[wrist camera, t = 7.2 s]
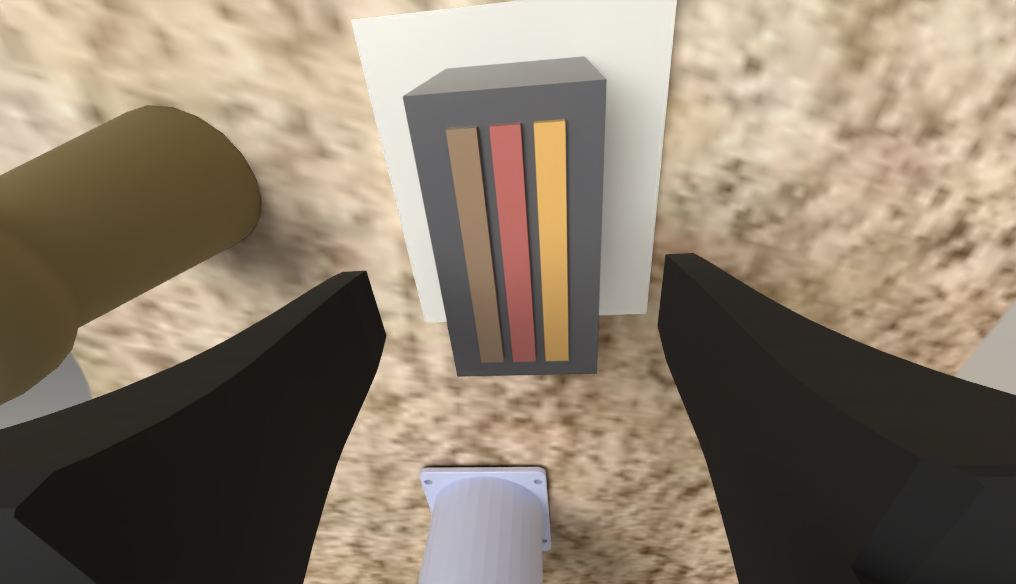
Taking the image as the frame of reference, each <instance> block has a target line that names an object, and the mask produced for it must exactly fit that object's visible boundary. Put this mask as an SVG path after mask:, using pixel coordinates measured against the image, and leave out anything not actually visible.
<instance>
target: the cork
mask: <svg viewBox="0 0 1016 584" xmlns="http://www.w3.org/2000/svg"><path fill="white" fill-rule="evenodd" d="M260 203H261V197H260V194H259V190H258V186H257V183H256V179H255V176H254V174H253V173H252V171H251V169H250V167H249V166H248V164H247V162H246V161H245V159H244V157H243V156H242V154H241V153H240V152H239V151H238V150H237V149H236V148H235V147H234V145H233V144H232V143H231V142H230V141H229V140H228V139H227V138H226V137H225V136H224V135H223V134H222V133H221V132H219V131H218V130H216V129H215V128H213V127H212V126H210V125H209V124H208V123H206V122H205V121H203V120H202V119H200V118H199V117H197V116H194V115H191V114H189V113H186V112H183V111H181V110H178V109H175V108H173V107H162V106H148V105H147V106H144V107H141V108H138V109H135V110H132V111H129V112H126V113H124V114H122V115H120V116H118V117H116V118H114V119H112V120H110V121H108V122H106V123H104V124H102V125H100V126H98V127H96V128H94V129H92V130H90V131H88V132H86V133H84V134H82V135H80V136H78V137H76V138H74V139H72V140H70V141H68V142H66V143H64V144H62V145H60V146H58V147H56V148H54V149H52V150H50V151H48V152H46V153H44V154H42V155H40V156H38V157H36V158H34V159H32V160H30V161H28V162H26V163H24V164H22V165H20V166H18V167H16V168H14V169H12V170H10V171H8V172H6V173H4V174H2V175H0V405H1V404H3V403H5V402H7V401H9V400H12V399H14V398H16V397H17V396H20V395H22V394H24V393H25V392H26V391H28V390H29V389H30V388H32V387H33V386H34V385H36V384H37V383H38V382H40V381H41V380H42V379H43V378H45V377H46V376H47V375H48V374H50V373H51V372H52V371H54V370H55V369H56V368H57V367H59V365H60V364H61V363H62V361H63V360H64V359H65V358H66V356H67V355H68V354H69V352H70V351H71V350H72V348H73V345H74V341H75V338H76V335H77V331H78V328H79V327H81V326H83V325H85V324H87V323H88V322H90V321H92V320H94V319H96V318H98V317H100V316H102V315H103V314H105V313H107V312H109V311H111V310H113V309H115V308H117V307H118V306H120V305H122V304H124V303H126V302H128V301H130V300H132V299H133V298H135V297H137V296H139V295H141V294H143V293H145V292H147V291H148V290H150V289H152V288H154V287H156V286H158V285H160V284H162V283H164V282H165V281H167V280H169V279H171V278H173V277H175V276H177V275H179V274H180V273H182V272H184V271H186V270H188V269H190V268H192V267H194V266H195V265H197V264H199V263H201V262H203V261H205V260H207V259H209V258H210V257H212V256H214V255H216V254H218V253H220V252H222V251H224V250H225V249H227V248H229V247H231V246H233V245H235V244H237V243H238V242H240V241H241V240H243V239H244V238H245V237H247V236H248V235H249V234H251V233H252V231H253V229H254V227H255V225H256V223H257V222H258V220H259V218H260Z"/></svg>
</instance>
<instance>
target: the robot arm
mask: <svg viewBox="0 0 1016 584" xmlns="http://www.w3.org/2000/svg"><path fill="white" fill-rule="evenodd" d="M658 329H659V333H660V338H661V342H662V346H663V350H664V354H665V357H666V361H667V364H668V366H669V369H670V371H671V374H672V376H673V379H674V381H675V384H676V386H677V389H678V391H679V394H680V396H681V399H682V401H683V403H684V406H685V408H686V411H687V413H688V416H689V418H690V420H691V423H692V425H693V428H694V430H695V433H696V435H697V438H698V440H699V443H700V445H701V448H702V451H703V454H704V457H705V459H706V462H707V466H708V469H709V473H710V476H711V480H712V483H713V487H714V490H715V494H716V497H717V501H718V504H719V508H720V512H721V515H722V519H723V523H724V527H725V530H726V534H727V538H728V542H729V545H730V549H731V553H732V557H733V561H734V565H735V569H736V574H737V578H738V582H739V584H1016V395H1013V394H1010V393H1006V392H1003V391H1000V390H996V389H993V388H989V387H986V386H982V385H979V384H976V383H973V382H969V381H966V380H963V379H960V378H957V377H954V376H951V375H948V374H944V373H941V372H938V371H935V370H932V369H929V368H926V367H924V366H921V365H918V364H915V363H913V362H910V361H907V360H904V359H902V358H899V357H896V356H893V355H891V354H888V353H885V352H883V351H880V350H878V349H875V348H872V347H870V346H867V345H865V344H862V343H860V342H858V341H855V340H853V339H851V338H849V337H846V336H844V335H842V334H840V333H837V332H835V331H833V330H830V329H828V328H826V327H824V326H822V325H820V324H817V323H815V322H813V321H811V320H809V319H807V318H805V317H803V316H801V315H799V314H798V313H796V312H794V311H792V310H790V309H788V308H786V307H784V306H782V305H780V304H779V303H777V302H775V301H773V300H771V299H770V298H768V297H766V296H764V295H763V294H761V293H759V292H758V291H756V290H754V289H752V288H751V287H749V286H747V285H746V284H744V283H743V282H741V281H739V280H738V279H736V278H734V277H733V276H731V275H730V274H728V273H726V272H725V271H723V270H722V269H720V268H718V267H717V266H715V265H713V264H712V263H710V262H709V261H707V260H705V259H703V258H702V257H700V256H698V255H696V254H694V253H686V254H668V255H666V256H665V265H664V274H663V283H662V291H661V300H660V309H659V318H658ZM385 339H386V333H385V330H384V326H383V323H382V320H381V317H380V314H379V310H378V307H377V304H376V301H375V297H374V294H373V291H372V288H371V284H370V281H369V278H368V275H367V272H366V271H352V272H342V273H340V274H337V275H335V276H333V277H331V278H330V279H328V280H326V281H324V282H323V283H321V284H319V285H318V286H316V287H314V288H313V289H311V290H309V291H308V292H306V293H305V294H303V295H301V296H300V297H298V298H297V299H295V300H293V301H292V302H290V303H289V304H287V305H285V306H284V307H282V308H281V309H279V310H277V311H276V312H274V313H273V314H271V315H269V316H268V317H266V318H264V319H262V320H261V321H259V322H257V323H255V324H254V325H252V326H250V327H249V328H247V329H245V330H243V331H242V332H240V333H238V334H237V335H235V336H233V337H231V338H229V339H228V340H226V341H224V342H222V343H220V344H218V345H216V346H214V347H212V348H211V349H209V350H207V351H204V352H202V353H200V354H198V355H196V356H194V357H192V358H190V359H188V360H186V361H184V362H182V363H180V364H177V365H175V366H173V367H171V368H168V369H166V370H164V371H161V372H159V373H157V374H154V375H152V376H149V377H147V378H145V379H142V380H140V381H138V382H135V383H133V384H130V385H128V386H126V387H123V388H121V389H118V390H116V391H113V392H111V393H108V394H105V395H102V396H100V397H97V398H94V399H92V400H89V401H86V402H84V403H81V404H78V405H75V406H72V407H69V408H66V409H64V410H60V411H58V412H55V413H52V414H49V415H46V416H43V417H40V418H36V419H33V420H30V421H27V422H24V423H21V424H17V425H14V426H11V427H7V428H4V429H1V430H0V584H303V582H304V578H305V574H306V570H307V566H308V562H309V558H310V554H311V550H312V546H313V543H314V539H315V536H316V532H317V529H318V525H319V522H320V518H321V515H322V511H323V508H324V504H325V501H326V498H327V494H328V491H329V488H330V485H331V482H332V479H333V476H334V472H335V469H336V466H337V463H338V461H339V458H340V455H341V453H342V450H343V448H344V445H345V443H346V441H347V438H348V436H349V434H350V432H351V429H352V427H353V425H354V423H355V420H356V418H357V416H358V414H359V411H360V409H361V407H362V405H363V402H364V400H365V398H366V395H367V393H368V391H369V388H370V386H371V384H372V381H373V379H374V377H375V374H376V372H377V369H378V366H379V362H380V359H381V356H382V352H383V348H384V344H385ZM419 477H420V480H421V483H422V486H423V489H424V492H425V495H426V498H427V501H428V504H429V507H430V510H431V513H432V517H431V522H430V527H429V532H428V537H427V542H426V546H425V551H424V556H423V561H422V566H421V571H420V575H419V580H418V584H543V551H549V550H550V549H551V533H550V520H549V507H548V494H547V481H546V471H545V470H544V469H543V468H541V467H446V468H423V469H421V471H420V475H419Z"/></svg>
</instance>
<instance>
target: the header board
mask: <svg viewBox="0 0 1016 584" xmlns="http://www.w3.org/2000/svg"><path fill="white" fill-rule="evenodd" d="M676 4H677V0H521V1H512V2H503V3H494V4H485V5H476V6H467V7H459V8H450V9H441V10H432V11H423V12H414V13H405V14H397V15H388V16H379V17H370V18H361V19H352V20H351V22H352V27H353V31H354V35H355V39H356V43H357V47H358V51H359V55H360V59H361V63H362V67H363V71H364V75H365V79H366V83H367V87H368V92H369V96H370V100H371V104H372V108H373V112H374V116H375V120H376V124H377V128H378V132H379V136H380V140H381V144H382V148H383V152H384V156H385V161H386V165H387V169H388V173H389V177H390V181H391V185H392V189H393V193H394V197H395V201H396V205H397V209H398V213H399V217H400V221H401V226H402V230H403V234H404V238H405V242H406V246H407V250H408V254H409V258H410V262H411V266H412V270H413V274H414V278H415V282H416V286H417V290H418V295H419V299H420V303H421V307H422V311H423V315H424V319H425V323H427V322H447V320H446V315H445V310H444V305H443V300H442V295H441V290H440V285H439V279H438V274H437V269H436V264H435V259H434V254H433V249H432V244H431V239H430V234H429V229H428V223H427V218H426V213H425V208H424V203H423V198H422V193H421V188H420V183H419V178H418V173H417V167H416V162H415V157H414V152H413V147H412V142H411V137H410V132H409V127H408V122H407V117H406V112H405V106H404V101H403V96H404V95H405V94H407V93H408V92H410V91H412V90H413V89H415V88H416V87H418V86H419V85H421V84H423V83H424V82H426V81H427V80H429V79H430V78H432V77H434V76H435V75H437V74H438V73H440V72H441V71H443V70H445V69H447V68H458V67H469V66H481V65H492V64H503V63H515V62H526V61H537V60H548V59H560V58H571V57H582V56H585V57H586V59H587V60H588V61H589V62H590V63H591V64H592V65H593V66H594V67H595V68H596V69H597V70H598V71H599V72H600V73H601V74H602V75H603V76H604V77H605V78H606V79H607V85H606V115H605V145H604V176H603V206H602V236H601V267H600V297H599V316H601V315H625V314H646V313H647V303H648V293H649V282H650V272H651V262H652V251H653V241H654V231H655V220H656V210H657V200H658V189H659V179H660V169H661V158H662V148H663V138H664V127H665V117H666V107H667V96H668V86H669V76H670V66H671V55H672V45H673V35H674V24H675V14H676Z"/></svg>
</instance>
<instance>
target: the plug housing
mask: <svg viewBox="0 0 1016 584" xmlns="http://www.w3.org/2000/svg"><path fill="white" fill-rule="evenodd" d="M606 85H607V79H606V78H605V77H604V76H603V75H602V74H601V73H600V72H599V71H598V70H597V69H596V68H595V67H594V66H593V65H592V64H591V63H590V62H589V61H588V60H587V59H586V57H585V56H582V57H571V58H560V59H548V60H537V61H526V62H515V63H503V64H492V65H481V66H469V67H458V68H447V69H445V70H443V71H441V72H440V73H438V74H437V75H435V76H434V77H432V78H430V79H429V80H427V81H426V82H424V83H423V84H421V85H419V86H418V87H416V88H415V89H413V90H412V91H410V92H408V93H407V94H405V95H404V96H403V101H404V106H405V112H406V117H407V122H408V127H409V132H410V137H411V142H412V147H413V152H414V157H415V162H416V167H417V173H418V178H419V183H420V188H421V193H422V198H423V203H424V208H425V213H426V218H427V223H428V229H429V234H430V239H431V244H432V249H433V254H434V259H435V264H436V269H437V274H438V279H439V285H440V290H441V295H442V300H443V305H444V310H445V315H446V320H447V325H448V330H449V335H450V340H451V346H452V351H453V356H454V361H455V366H456V371H457V376H505V375H553V374H597V358H598V328H599V297H600V267H601V236H602V206H603V176H604V145H605V115H606Z"/></svg>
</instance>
